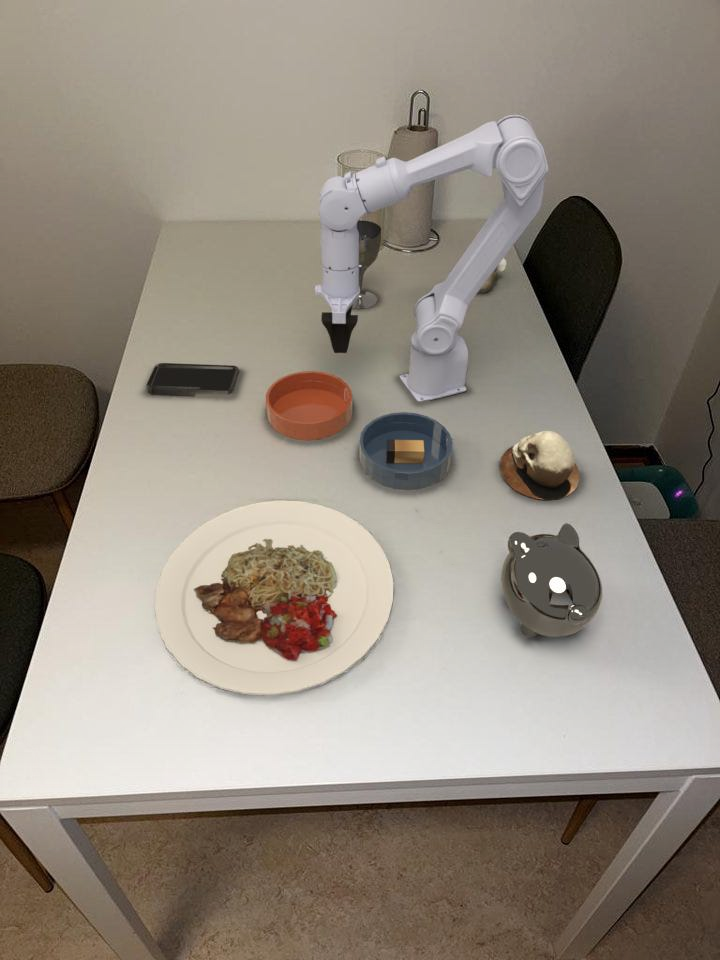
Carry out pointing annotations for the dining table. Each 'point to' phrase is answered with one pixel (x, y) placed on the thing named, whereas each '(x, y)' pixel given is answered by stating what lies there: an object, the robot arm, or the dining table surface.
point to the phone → (192, 379)
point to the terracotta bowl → (309, 405)
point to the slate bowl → (405, 429)
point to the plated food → (274, 597)
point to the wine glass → (367, 258)
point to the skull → (541, 466)
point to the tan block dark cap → (405, 451)
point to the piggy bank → (550, 583)
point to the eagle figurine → (493, 277)
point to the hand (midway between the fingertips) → (341, 338)
